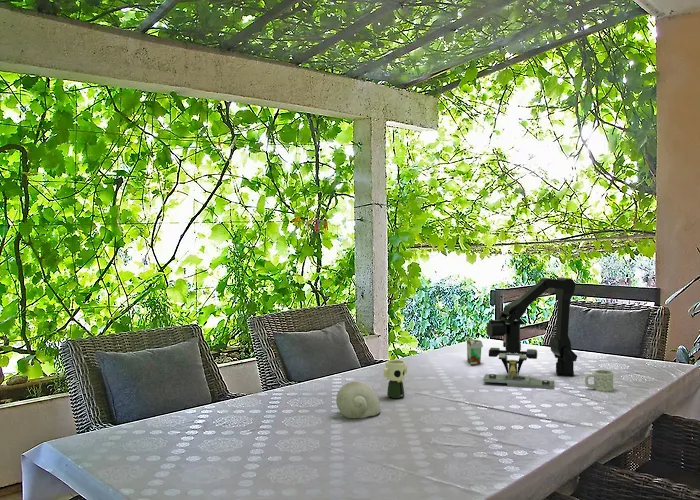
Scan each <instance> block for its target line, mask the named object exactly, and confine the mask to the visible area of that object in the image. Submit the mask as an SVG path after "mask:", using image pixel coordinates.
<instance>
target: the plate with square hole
mask: <svg viewBox="0 0 700 500" xmlns="http://www.w3.org/2000/svg"><path fill="white" fill-rule="evenodd" d="M483 382H484V383H496V384H497V383H500V384H501V383H502V384H507V385H506V386H507V387H514V388H516V387H517V388H527V389H528V388H529V389H530V388H531V389H546V390H555V380H548V379H542V380H541V379H531V376H527V375H517V376H511V375H509V374H507V375H506V374H496V373H486V374H485V375H484V377H483Z"/></svg>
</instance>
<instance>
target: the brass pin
mask: <svg viewBox="0 0 700 500" xmlns="http://www.w3.org/2000/svg"><path fill="white" fill-rule="evenodd" d="M518 362H519V359H518V360H517V359H507V363H508V368H509V374H508V375H511V376H518V375H517V370H518Z"/></svg>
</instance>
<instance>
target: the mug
mask: <svg viewBox="0 0 700 500" xmlns="http://www.w3.org/2000/svg"><path fill="white" fill-rule="evenodd" d="M589 378H593V384H589ZM584 381H585V386H586V387H587V388H590V389H591V388H592V389H593V390H595V391H597V392H604V393H611V392H613V391H614V371H612V370H606V369H597V370H594V372H593V373H589V374H586V375H585V378H584Z"/></svg>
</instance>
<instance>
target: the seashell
mask: <svg viewBox="0 0 700 500" xmlns="http://www.w3.org/2000/svg"><path fill="white" fill-rule="evenodd" d="M335 398H336V399H335V403H336V406H337V409H338V411H339V412H340V413H341V414H342V415H343V416H344V417H346V418H348V419H361V418H363V419H365V418H367V417H372V416H376V415H378V414H380V413H381V410H382V409H381V404H380V401H379V398H378V395H377V394H376V393H375V391H374V390H373V389H372V388H371V387H370V386H369V385H367V384H366V383H364V382H360V381H350V382H347V383H345V384H344V385H342V386H341V387H340V388H339V390H338V391H337V393H336V397H335Z"/></svg>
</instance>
